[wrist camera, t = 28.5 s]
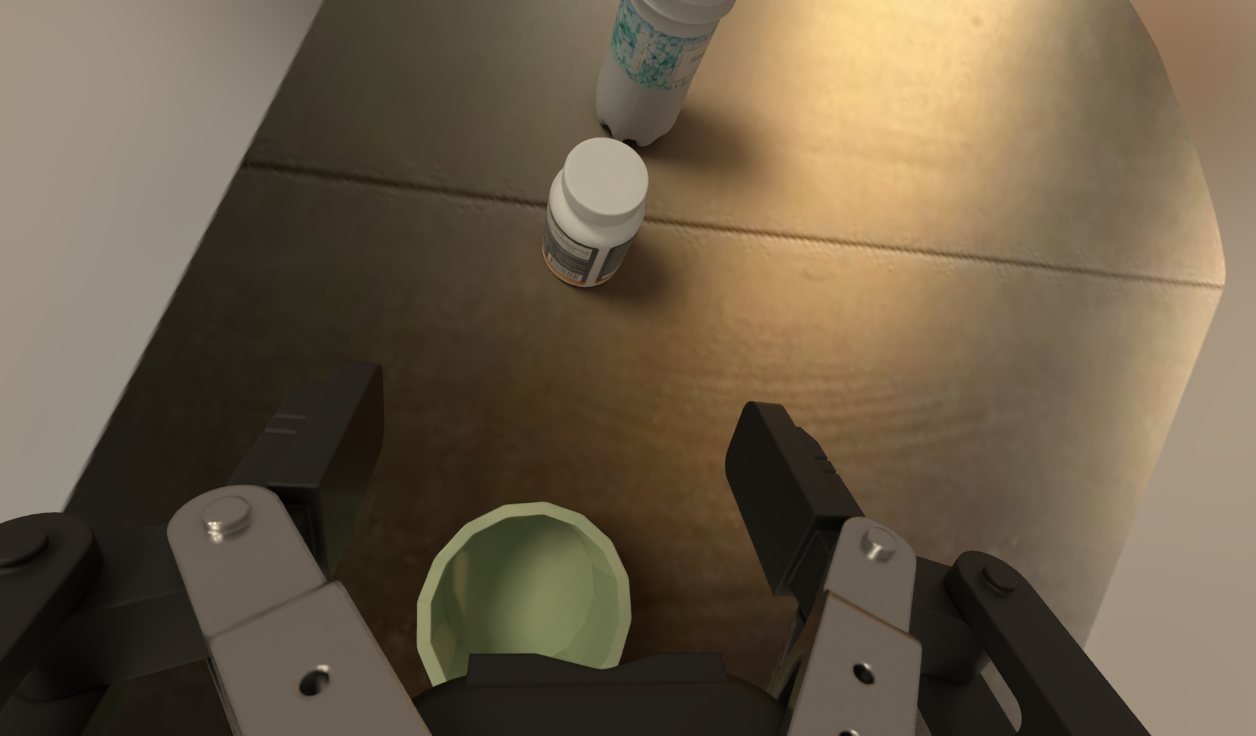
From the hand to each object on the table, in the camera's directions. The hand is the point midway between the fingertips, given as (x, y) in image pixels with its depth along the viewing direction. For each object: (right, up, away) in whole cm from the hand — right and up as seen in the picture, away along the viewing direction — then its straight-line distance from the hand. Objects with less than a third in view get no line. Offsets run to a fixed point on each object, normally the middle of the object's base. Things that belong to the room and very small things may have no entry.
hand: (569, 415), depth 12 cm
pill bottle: (-2, +9, +27) cm, 29 cm away
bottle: (+2, +20, +30) cm, 37 cm away
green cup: (-5, -12, +21) cm, 25 cm away
